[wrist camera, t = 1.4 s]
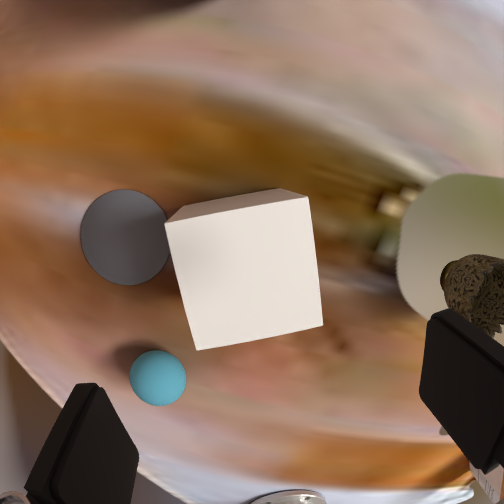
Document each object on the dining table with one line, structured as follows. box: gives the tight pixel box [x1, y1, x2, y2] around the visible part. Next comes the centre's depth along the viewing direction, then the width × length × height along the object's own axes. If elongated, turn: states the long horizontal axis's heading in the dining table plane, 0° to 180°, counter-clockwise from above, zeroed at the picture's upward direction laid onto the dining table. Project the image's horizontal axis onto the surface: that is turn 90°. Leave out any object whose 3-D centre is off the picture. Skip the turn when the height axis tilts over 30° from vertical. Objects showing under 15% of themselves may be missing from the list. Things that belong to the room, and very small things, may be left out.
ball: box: [130, 350, 186, 406], centre depth 26 cm, size 5×5×5 cm
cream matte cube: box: [164, 188, 323, 350], centre depth 22 cm, size 8×8×9 cm
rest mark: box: [81, 190, 170, 285], centre depth 25 cm, size 8×8×1 cm
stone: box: [440, 254, 504, 339], centre depth 25 cm, size 7×7×8 cm
